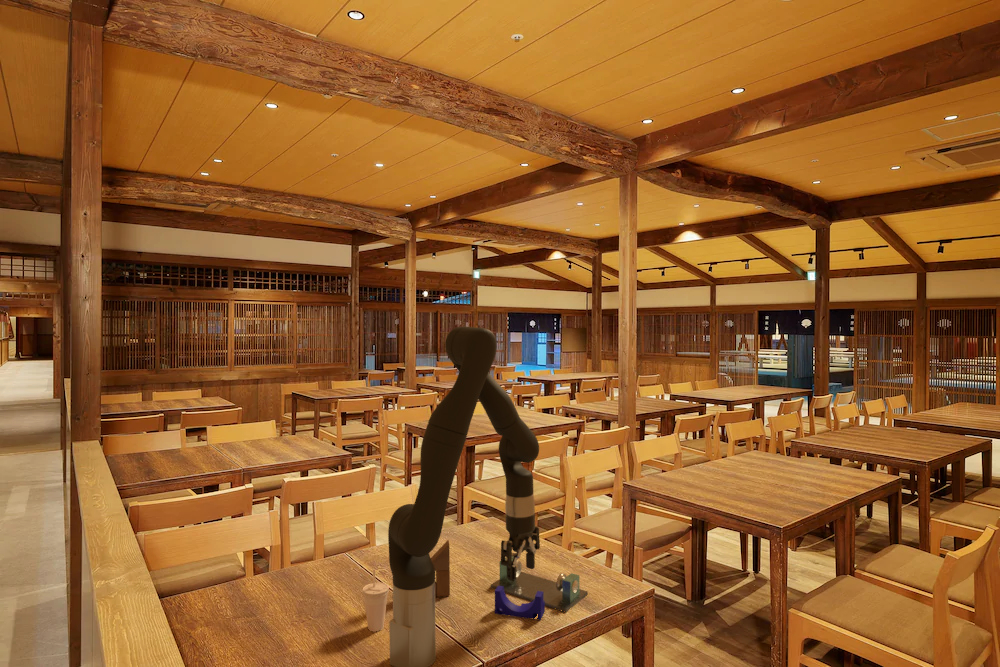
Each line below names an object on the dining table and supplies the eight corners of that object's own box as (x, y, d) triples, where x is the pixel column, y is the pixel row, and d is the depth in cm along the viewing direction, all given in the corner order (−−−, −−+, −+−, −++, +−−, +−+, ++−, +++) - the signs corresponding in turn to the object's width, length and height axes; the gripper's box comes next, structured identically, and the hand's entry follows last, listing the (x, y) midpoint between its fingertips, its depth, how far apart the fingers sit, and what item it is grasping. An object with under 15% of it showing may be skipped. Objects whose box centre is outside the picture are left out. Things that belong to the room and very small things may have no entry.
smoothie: (378, 618, 140) (377, 562, 140) (394, 626, 136) (394, 569, 136) (356, 628, 135) (356, 571, 135) (373, 637, 131) (373, 578, 131)
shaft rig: (565, 612, 142) (565, 587, 142) (490, 587, 157) (490, 564, 157) (587, 594, 152) (587, 570, 152) (514, 572, 166) (514, 550, 166)
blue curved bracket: (544, 612, 143) (544, 589, 143) (540, 621, 139) (540, 597, 139) (499, 605, 147) (499, 583, 147) (494, 614, 142) (494, 590, 142)
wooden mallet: (449, 596, 152) (449, 530, 151) (409, 599, 150) (409, 532, 150) (449, 590, 155) (448, 525, 155) (409, 593, 154) (409, 527, 153)
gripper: (516, 522, 135) (517, 588, 135) (547, 506, 147) (548, 567, 147) (491, 516, 140) (492, 580, 140) (523, 501, 151) (524, 560, 151)
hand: (521, 574), depth 143 cm, fingers open, 8 cm apart
